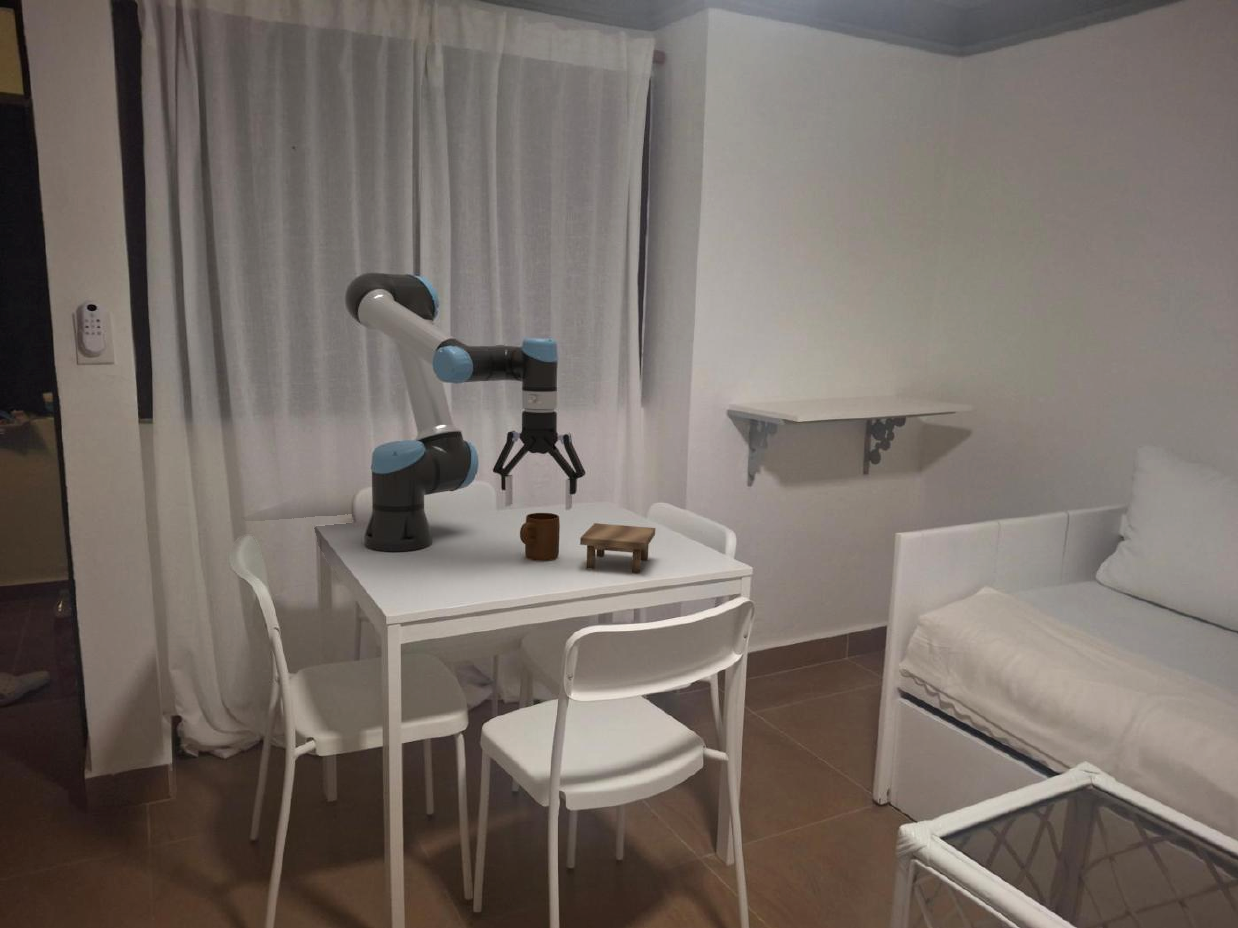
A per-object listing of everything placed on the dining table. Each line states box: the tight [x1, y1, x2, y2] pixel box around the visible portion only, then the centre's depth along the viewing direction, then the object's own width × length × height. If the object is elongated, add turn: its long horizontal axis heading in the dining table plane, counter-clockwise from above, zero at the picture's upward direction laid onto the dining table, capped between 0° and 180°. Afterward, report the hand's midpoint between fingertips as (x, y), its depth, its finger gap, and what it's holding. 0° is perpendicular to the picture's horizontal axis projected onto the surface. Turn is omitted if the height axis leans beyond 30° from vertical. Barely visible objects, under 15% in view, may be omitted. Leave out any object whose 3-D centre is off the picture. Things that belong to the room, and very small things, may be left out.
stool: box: [579, 522, 656, 574], centre depth 198 cm, size 14×14×7 cm
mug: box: [519, 512, 561, 562], centre depth 199 cm, size 12×8×9 cm, turn 152°
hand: (538, 507), depth 198 cm, fingers open, 13 cm apart
